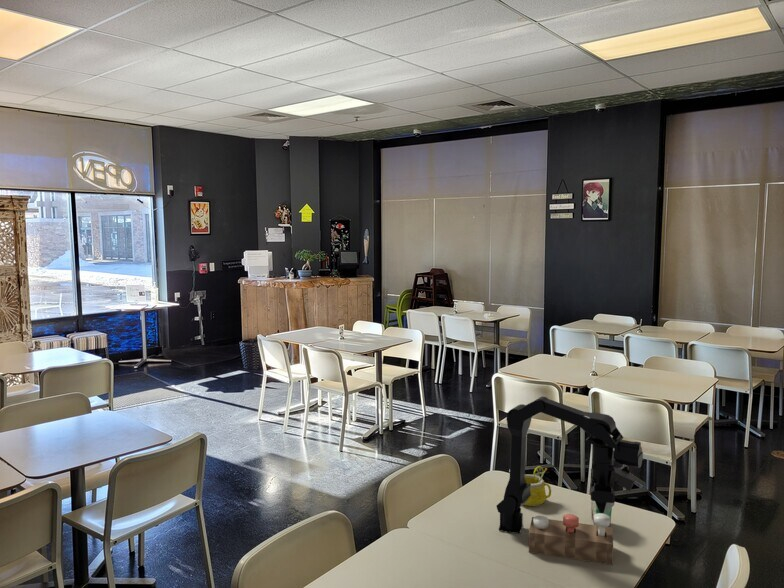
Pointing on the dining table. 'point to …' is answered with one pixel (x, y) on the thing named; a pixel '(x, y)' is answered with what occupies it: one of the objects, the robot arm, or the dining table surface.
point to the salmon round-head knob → (570, 522)
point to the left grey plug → (540, 522)
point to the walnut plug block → (572, 542)
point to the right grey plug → (601, 523)
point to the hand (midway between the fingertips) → (601, 512)
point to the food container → (607, 510)
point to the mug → (537, 488)
